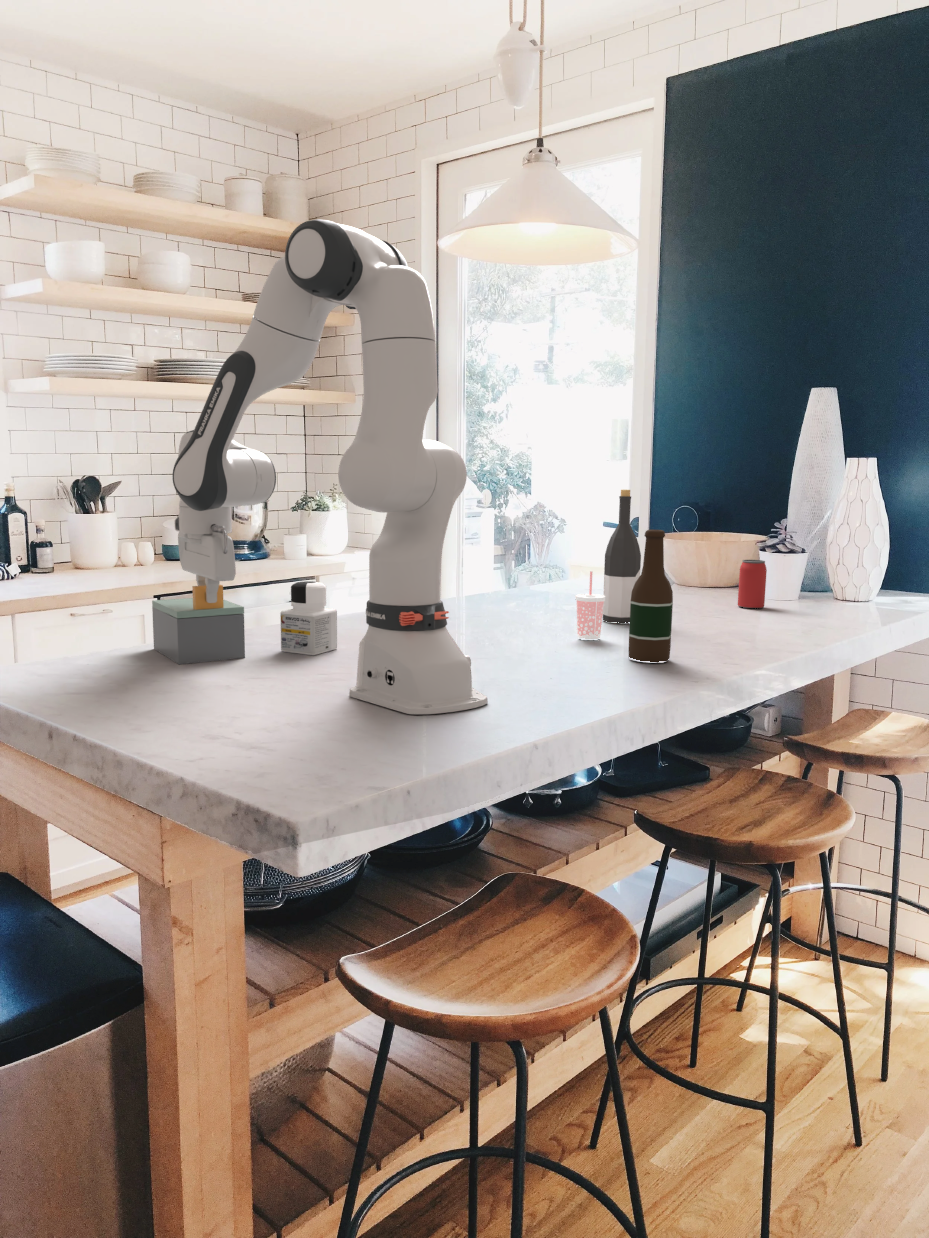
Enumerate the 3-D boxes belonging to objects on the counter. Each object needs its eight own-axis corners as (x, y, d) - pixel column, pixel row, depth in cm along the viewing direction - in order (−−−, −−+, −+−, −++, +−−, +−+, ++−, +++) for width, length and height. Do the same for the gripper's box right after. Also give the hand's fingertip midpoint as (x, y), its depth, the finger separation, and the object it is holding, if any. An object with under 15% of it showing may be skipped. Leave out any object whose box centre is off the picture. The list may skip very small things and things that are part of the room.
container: (280, 651, 180) (278, 582, 178) (305, 645, 187) (304, 578, 185) (313, 656, 177) (312, 585, 175) (338, 649, 184) (337, 581, 182)
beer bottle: (619, 659, 178) (624, 529, 174) (642, 654, 183) (648, 527, 179) (655, 666, 172) (662, 532, 168) (678, 660, 178) (685, 530, 174)
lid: (244, 617, 173) (243, 584, 172) (177, 623, 167) (176, 588, 166) (215, 606, 186) (214, 575, 185) (152, 611, 180) (151, 579, 179)
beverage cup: (595, 635, 202) (598, 569, 200) (609, 641, 196) (611, 572, 194) (569, 637, 200) (571, 570, 198) (581, 642, 194) (584, 573, 192)
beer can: (738, 608, 243) (741, 561, 241) (736, 605, 250) (738, 559, 248) (765, 609, 242) (769, 562, 240) (762, 606, 248) (765, 559, 247)
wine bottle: (602, 618, 225) (607, 488, 221) (637, 619, 224) (643, 489, 220) (602, 623, 218) (607, 489, 213) (638, 624, 216) (644, 490, 212)
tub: (244, 657, 174) (243, 614, 173) (178, 664, 168) (177, 619, 167) (216, 643, 188) (215, 602, 186) (153, 648, 181) (152, 606, 180)
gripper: (244, 526, 161) (245, 607, 164) (205, 519, 178) (207, 593, 181) (206, 527, 158) (209, 610, 160) (171, 520, 175) (174, 595, 177)
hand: (208, 601), depth 171 cm, fingers closed on lid
